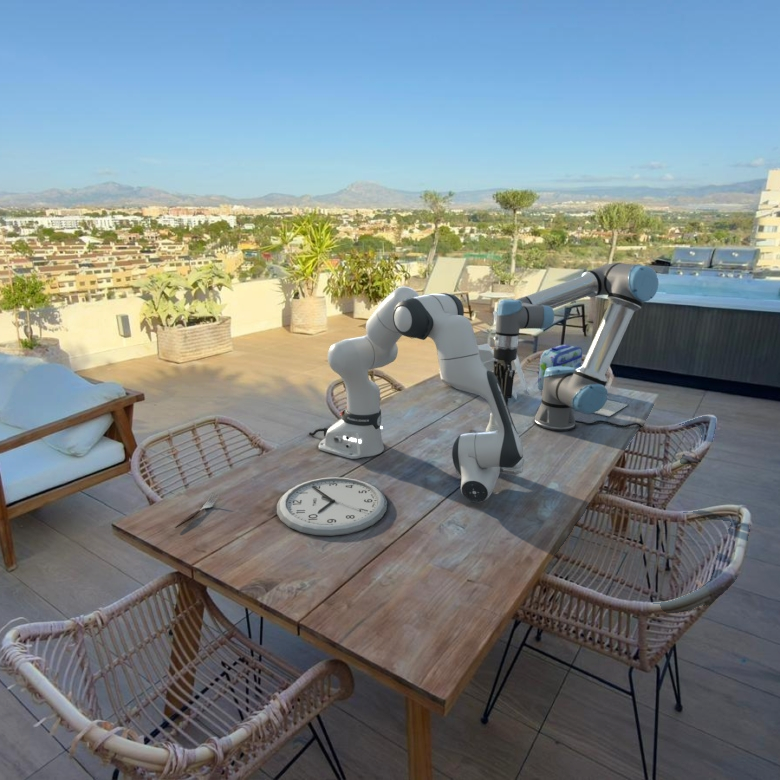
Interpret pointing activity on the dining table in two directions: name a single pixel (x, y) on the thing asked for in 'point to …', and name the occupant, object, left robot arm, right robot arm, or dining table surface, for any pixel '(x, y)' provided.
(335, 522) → the wall clock
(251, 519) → the dining table surface
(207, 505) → the fork
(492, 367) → the white plastic object
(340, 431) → the left robot arm
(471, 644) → the dining table surface
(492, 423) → the bottle
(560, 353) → the lunch box
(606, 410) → the invitation card
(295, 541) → the dining table surface
